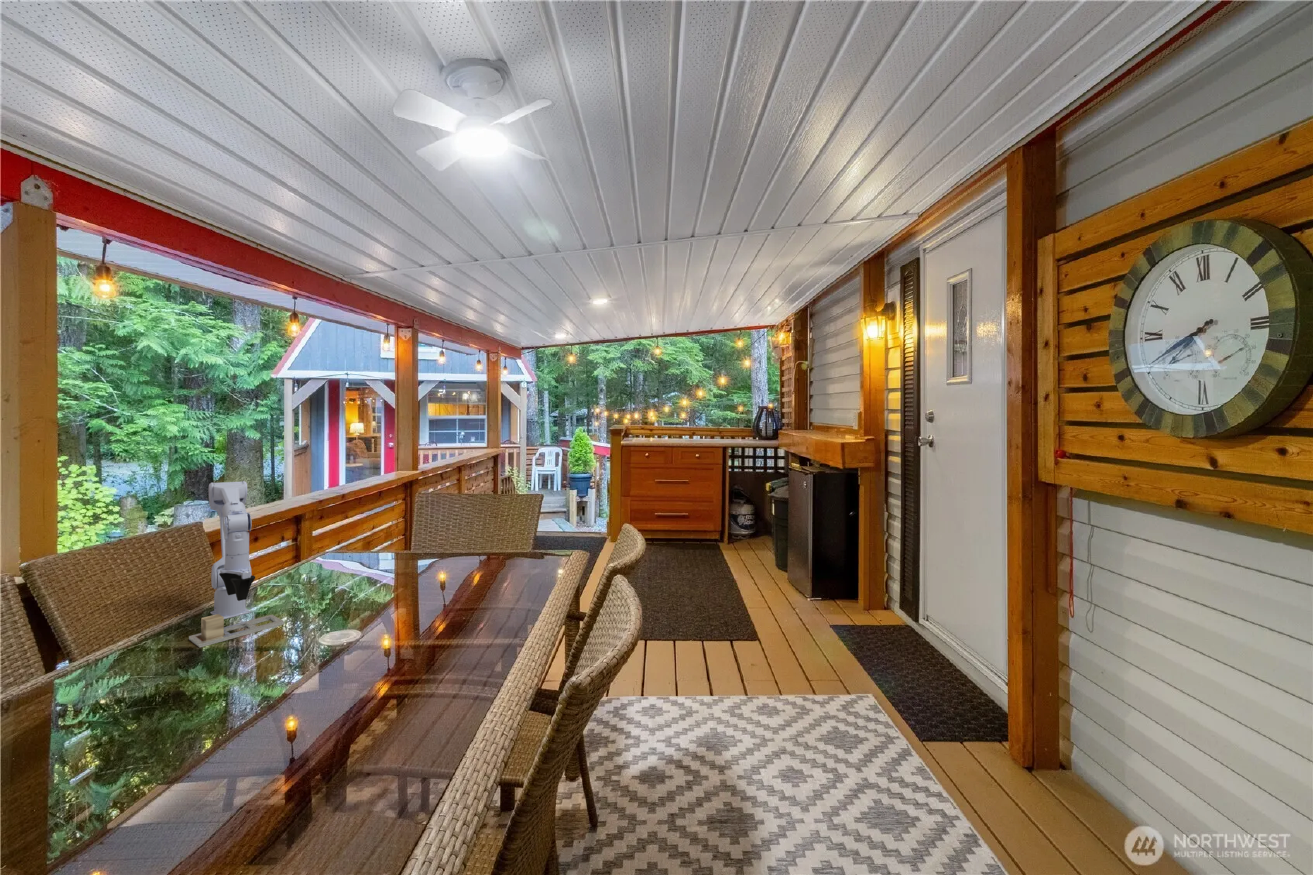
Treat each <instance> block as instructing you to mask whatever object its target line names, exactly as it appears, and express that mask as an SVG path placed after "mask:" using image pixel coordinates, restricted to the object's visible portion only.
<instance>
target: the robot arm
mask: <svg viewBox="0 0 1313 875" xmlns="http://www.w3.org/2000/svg"><path fill="white" fill-rule="evenodd" d="M247 498H248V482H247V481H245V480H242V481H227V482H226V481H224V482H210V483H209V484H208V501H209V502H208V504H209V507H210V510H212V511H215V512H216V513H217V515H218V516H219V517H218V518H219V525H220V527H219V528H220V529H219V530H220V546H221V558H220V559H219V560H217V561H216V562H214V563H213V565H212V566H211V576H210V577H211V578H210V579H211V582H210V583H211V588H212V589H214V590H215V591H214V594H213V595H214V596H213V600H214V601H213V602H214V603H213V609H214V610H212V611H210V612H209V613H210V614H211V616H212V615H216V614H219V615H221V616H223V617H224V620H226V619H227V620H228V619H231V618H234V617H235V618H236V617H239V616H243V615H248V614H251V613H252V611H251V610H249V609H248V608H247V607H246V606H247V605H246V603H247V601H246V600H247V599H248V596H249V592H250V589H251V587H252V584H253V582H254V581H255V580H256V576H255V575H252V574H253V573H252V567H251V562H250V532H251V531H252V527H253V526H252V523H253V522H252V515H251V513H250V512H248V511H247V509H246V504H247Z"/></svg>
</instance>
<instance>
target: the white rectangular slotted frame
mask: <svg viewBox="0 0 1313 875" xmlns="http://www.w3.org/2000/svg"><path fill="white" fill-rule="evenodd" d="M267 621H272V622H269V623H265V624H261V625H259V626H257V625H255V624H260V623H263V622H267ZM284 622H285V621H284V620H283V619H281V618H279V617H277V616H276V615H274V614H269V615H265V616H262V617H258V618H253V619H250V620H246V621H242V622H238V623H234V624H230V625H227V626H224V636H221V637H217V638H213V639H209V640H206V641H204V640H203V639H201V632H200V633H196V634H193V635H189V636H188V640H189V641H190V642H192V643H193V644H194V645H195V646H197V647H198V648H203V647H206V646H210V645H214V644H217V643H221V642H225V641H228V640H232V639H235V638H239V637H243V636H246V635H250V634H254V633H257V632H261V631H265V630H268V629H272V628H275V627H279V626H282V625H284V624H285V623H284ZM245 627H246V628H247V629H244V630H240V631H236V632H232V633H230V631H233V630H238V629H241V628H245Z"/></svg>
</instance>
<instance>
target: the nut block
mask: <svg viewBox="0 0 1313 875" xmlns="http://www.w3.org/2000/svg"><path fill="white" fill-rule="evenodd" d="M200 618H201V620H200V624H201V625H200V627H201V628H200V633H201V639H203V640H204V641H206V640H209V639H213V638H217V637H221V636H224V627H225V619H224V617H223V616H221V615H219V614H216V615H212V614H211V615H208V616H205V617H204V616H203V617H200Z"/></svg>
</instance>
